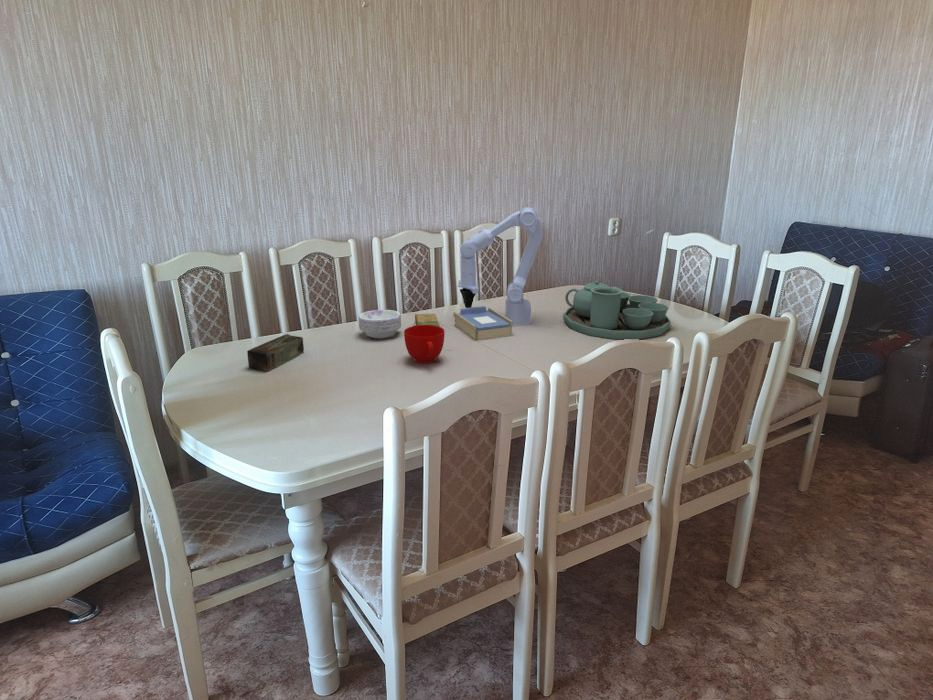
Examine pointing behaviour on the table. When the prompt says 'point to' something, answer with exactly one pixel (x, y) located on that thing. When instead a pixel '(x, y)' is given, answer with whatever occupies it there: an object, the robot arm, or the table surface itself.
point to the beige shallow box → (486, 333)
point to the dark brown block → (275, 352)
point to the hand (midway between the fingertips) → (468, 307)
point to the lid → (482, 318)
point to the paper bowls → (380, 323)
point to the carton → (426, 319)
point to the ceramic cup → (424, 342)
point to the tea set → (615, 313)
